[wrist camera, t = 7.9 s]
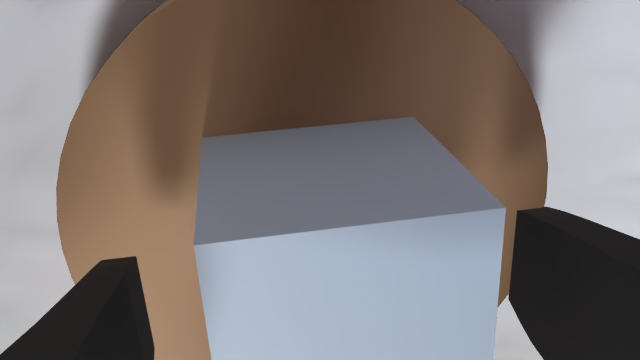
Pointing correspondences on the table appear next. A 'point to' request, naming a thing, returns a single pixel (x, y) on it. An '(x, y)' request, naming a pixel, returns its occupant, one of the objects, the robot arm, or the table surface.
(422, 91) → the walnut bowl
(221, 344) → the blue cube
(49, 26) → the table surface
